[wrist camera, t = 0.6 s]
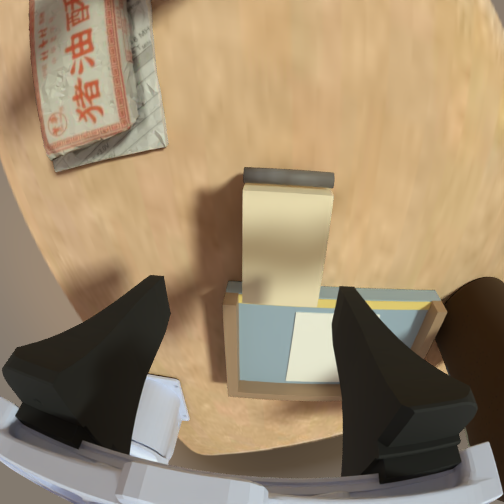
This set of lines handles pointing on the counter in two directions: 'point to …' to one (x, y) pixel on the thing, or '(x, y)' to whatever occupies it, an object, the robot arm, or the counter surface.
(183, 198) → the counter surface
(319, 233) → the beige block with rod
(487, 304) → the olive oil
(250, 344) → the dock
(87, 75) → the packaged product
